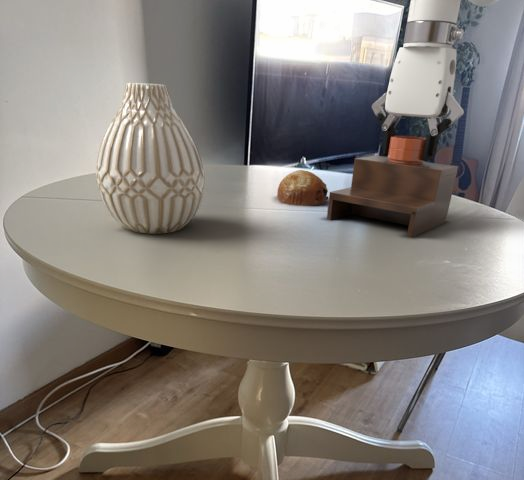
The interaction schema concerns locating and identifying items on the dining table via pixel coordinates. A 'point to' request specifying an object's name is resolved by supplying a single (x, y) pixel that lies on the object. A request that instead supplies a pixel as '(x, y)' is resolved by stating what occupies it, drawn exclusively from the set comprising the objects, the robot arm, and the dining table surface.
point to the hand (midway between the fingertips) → (406, 156)
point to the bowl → (406, 149)
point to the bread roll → (302, 189)
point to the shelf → (396, 193)
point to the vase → (149, 164)
